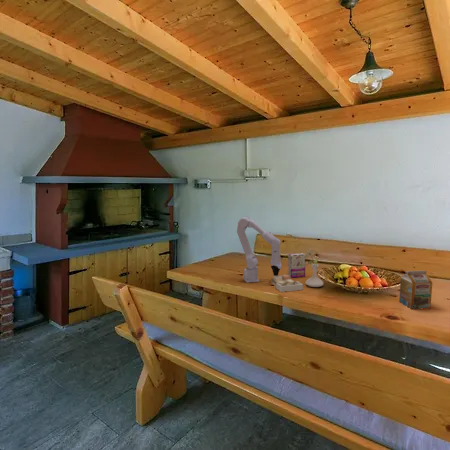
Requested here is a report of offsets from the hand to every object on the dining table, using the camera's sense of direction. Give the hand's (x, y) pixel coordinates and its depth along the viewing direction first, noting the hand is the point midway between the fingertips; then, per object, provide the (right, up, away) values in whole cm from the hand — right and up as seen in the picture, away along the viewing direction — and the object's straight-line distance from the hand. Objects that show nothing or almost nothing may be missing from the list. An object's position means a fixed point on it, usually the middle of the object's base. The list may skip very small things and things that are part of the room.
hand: (275, 276), depth 216 cm
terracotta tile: (+6, -1, -2) cm, 7 cm away
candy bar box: (+17, -2, +13) cm, 21 cm away
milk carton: (+68, -9, -43) cm, 81 cm away
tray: (+6, -6, -13) cm, 16 cm away
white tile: (+1, -1, -3) cm, 3 cm away
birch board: (+4, -5, -5) cm, 8 cm away
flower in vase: (+23, -5, -8) cm, 25 cm away
